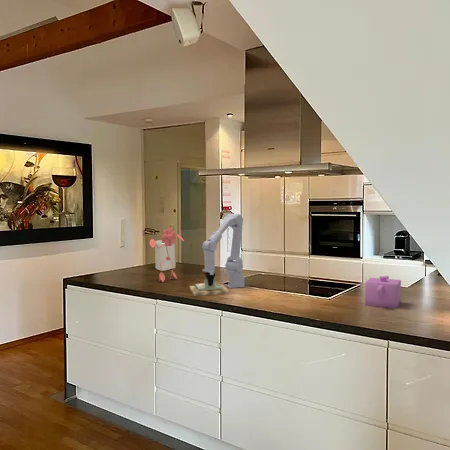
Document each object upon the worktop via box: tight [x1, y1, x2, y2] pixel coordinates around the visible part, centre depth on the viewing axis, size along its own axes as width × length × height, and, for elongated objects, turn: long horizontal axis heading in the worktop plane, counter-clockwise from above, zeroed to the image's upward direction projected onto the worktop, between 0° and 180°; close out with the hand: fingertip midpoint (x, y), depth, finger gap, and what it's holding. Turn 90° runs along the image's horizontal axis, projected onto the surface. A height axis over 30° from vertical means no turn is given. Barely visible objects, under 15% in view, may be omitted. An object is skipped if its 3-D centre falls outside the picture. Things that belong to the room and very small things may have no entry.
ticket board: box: [189, 282, 230, 297], centre depth 274 cm, size 20×20×3 cm
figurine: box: [149, 227, 185, 284], centre depth 303 cm, size 15×26×35 cm, turn 136°
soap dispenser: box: [154, 239, 177, 272], centre depth 352 cm, size 15×14×22 cm
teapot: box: [364, 275, 402, 309], centre depth 237 cm, size 15×25×14 cm, turn 153°
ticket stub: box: [197, 277, 222, 291], centre depth 271 cm, size 14×5×6 cm, turn 101°
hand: (210, 285), depth 269 cm, fingers closed
